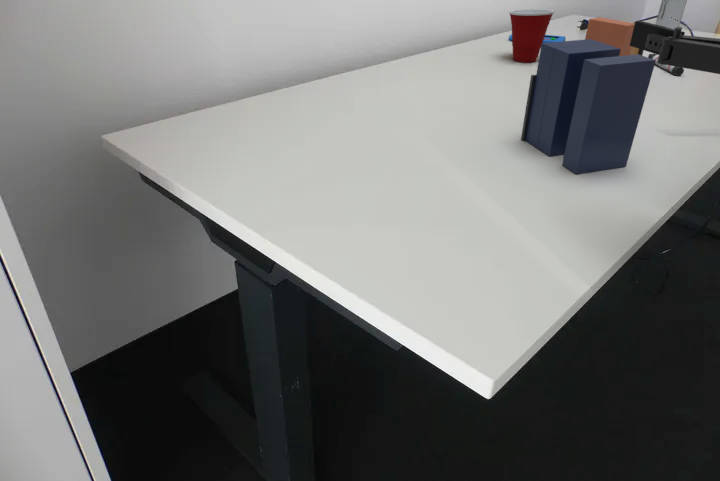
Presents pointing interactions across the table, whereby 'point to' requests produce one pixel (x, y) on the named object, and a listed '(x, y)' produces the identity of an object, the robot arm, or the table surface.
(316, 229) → the table surface
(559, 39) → the handheld gaming device
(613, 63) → the navy book
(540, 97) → the navy books
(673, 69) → the marker
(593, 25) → the terracotta books
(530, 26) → the plastic cup
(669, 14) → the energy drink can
